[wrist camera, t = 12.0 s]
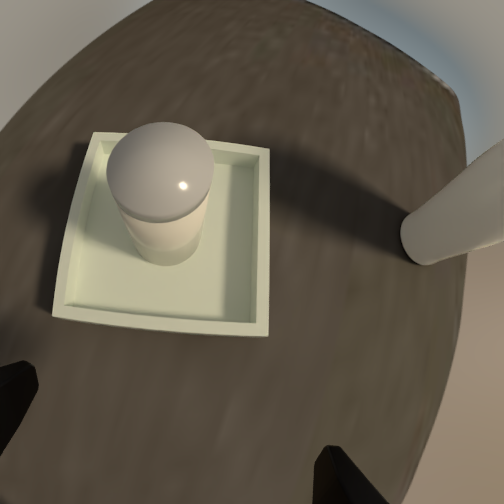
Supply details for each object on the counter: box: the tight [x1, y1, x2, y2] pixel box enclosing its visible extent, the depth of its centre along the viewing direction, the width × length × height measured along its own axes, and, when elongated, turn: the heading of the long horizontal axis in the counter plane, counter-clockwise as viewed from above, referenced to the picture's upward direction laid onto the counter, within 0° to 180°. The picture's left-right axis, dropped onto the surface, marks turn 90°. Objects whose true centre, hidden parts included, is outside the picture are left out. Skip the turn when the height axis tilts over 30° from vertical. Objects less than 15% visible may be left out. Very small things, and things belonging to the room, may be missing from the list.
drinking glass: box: [400, 139, 504, 265], centre depth 21 cm, size 7×7×15 cm
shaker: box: [106, 122, 214, 266], centre depth 17 cm, size 5×5×9 cm
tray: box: [52, 132, 270, 337], centre depth 21 cm, size 14×14×2 cm
